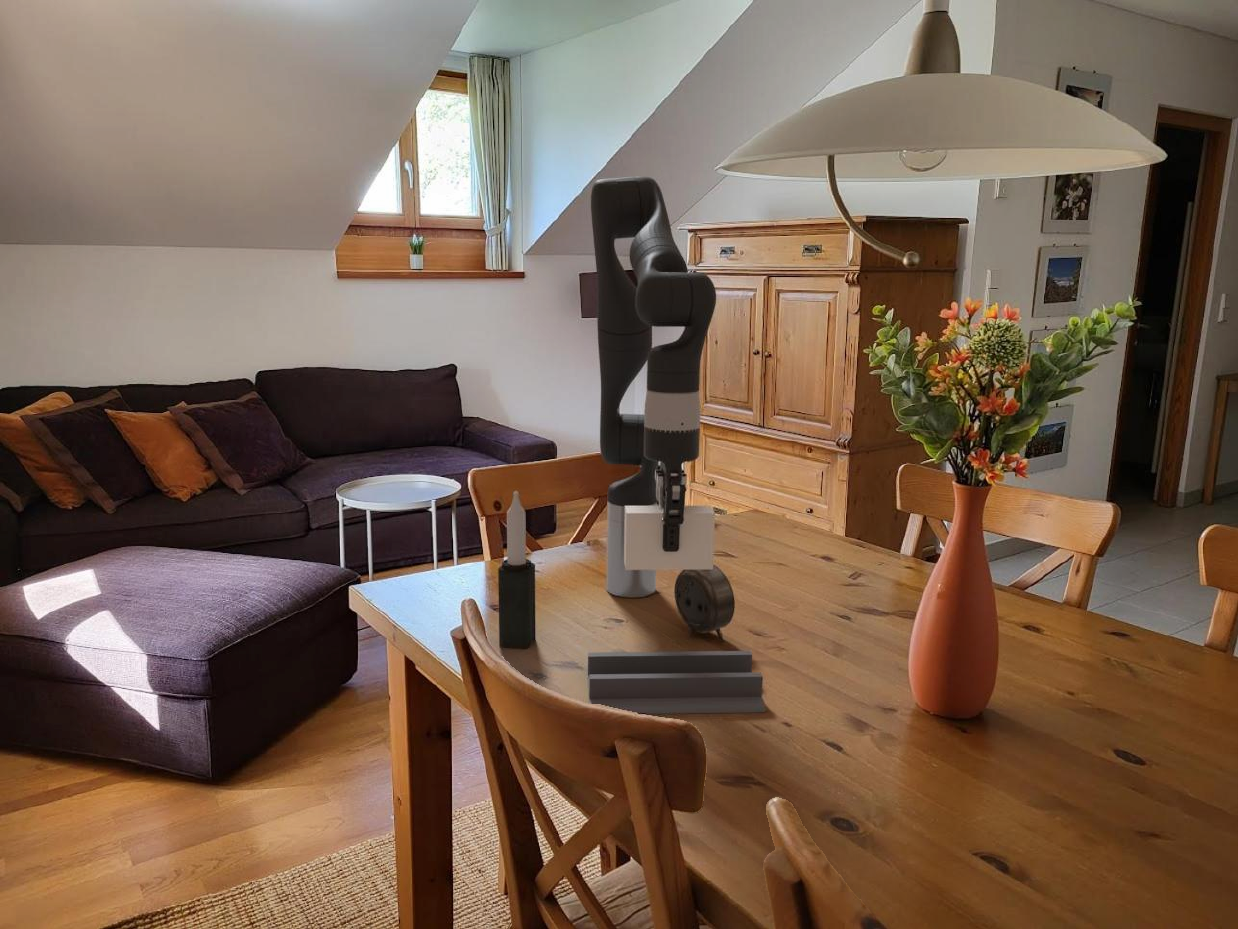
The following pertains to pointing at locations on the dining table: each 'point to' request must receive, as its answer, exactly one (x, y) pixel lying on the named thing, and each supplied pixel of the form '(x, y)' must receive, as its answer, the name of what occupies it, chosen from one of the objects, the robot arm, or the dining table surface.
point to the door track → (675, 682)
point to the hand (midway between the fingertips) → (668, 545)
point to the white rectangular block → (648, 539)
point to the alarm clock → (704, 600)
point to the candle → (516, 584)
